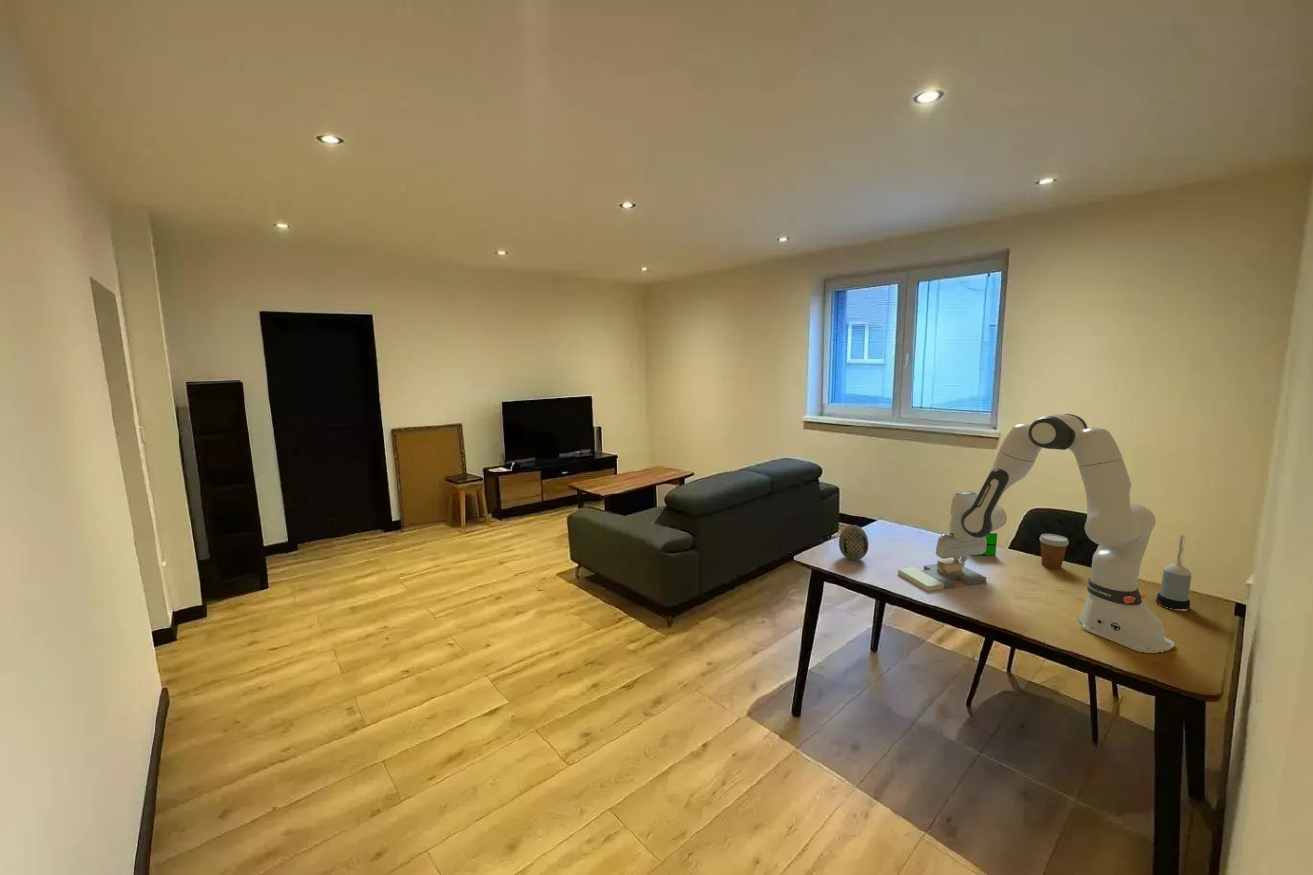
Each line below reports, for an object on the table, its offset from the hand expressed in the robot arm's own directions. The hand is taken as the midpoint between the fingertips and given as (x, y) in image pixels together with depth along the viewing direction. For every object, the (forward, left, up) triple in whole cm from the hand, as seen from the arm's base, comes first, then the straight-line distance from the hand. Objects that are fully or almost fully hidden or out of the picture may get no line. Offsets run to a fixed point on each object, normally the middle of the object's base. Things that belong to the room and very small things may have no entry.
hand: (959, 566), depth 205 cm
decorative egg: (+26, +29, -4) cm, 39 cm away
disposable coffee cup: (-3, -42, -4) cm, 42 cm away
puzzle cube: (+18, -27, -4) cm, 32 cm away
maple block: (0, +5, -2) cm, 5 cm away
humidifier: (-40, -49, -4) cm, 63 cm away
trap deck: (0, +8, -4) cm, 9 cm away
